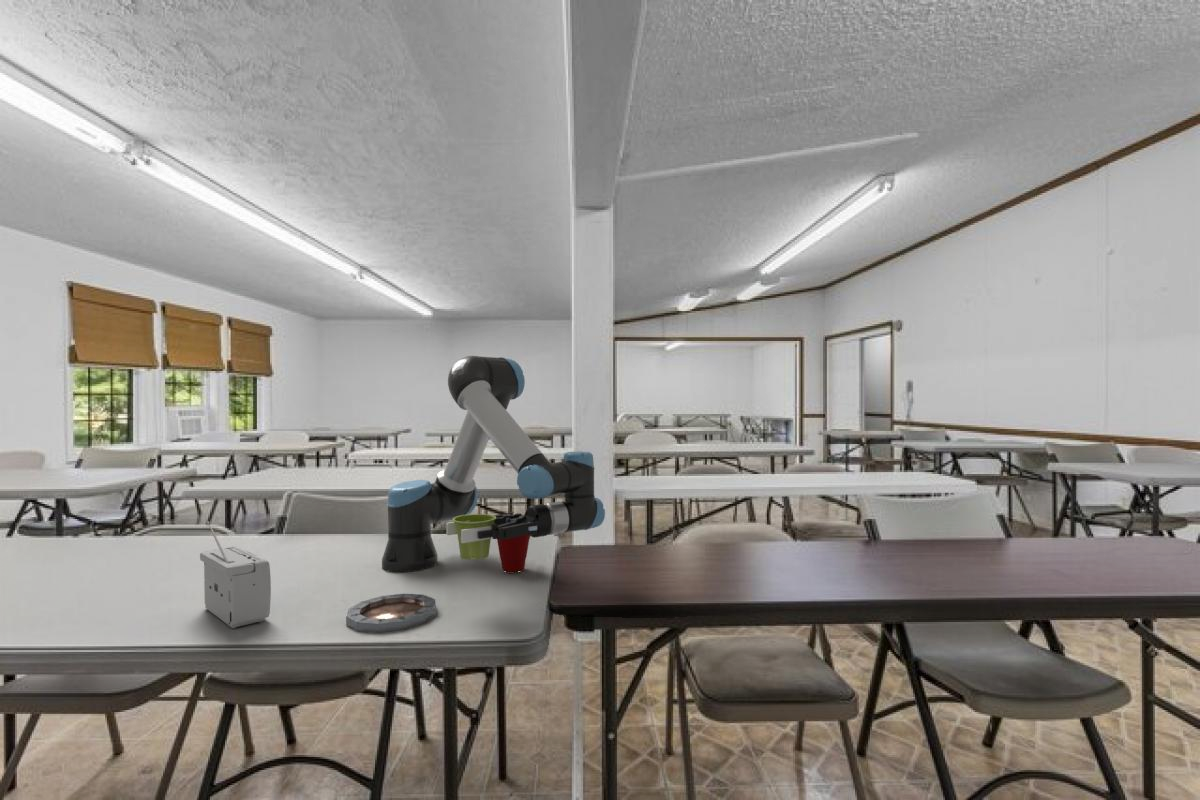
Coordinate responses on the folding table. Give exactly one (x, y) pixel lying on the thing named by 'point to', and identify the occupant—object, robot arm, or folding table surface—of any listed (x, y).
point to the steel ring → (391, 613)
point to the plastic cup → (513, 553)
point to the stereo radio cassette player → (236, 585)
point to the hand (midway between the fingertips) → (454, 532)
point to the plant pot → (477, 547)
